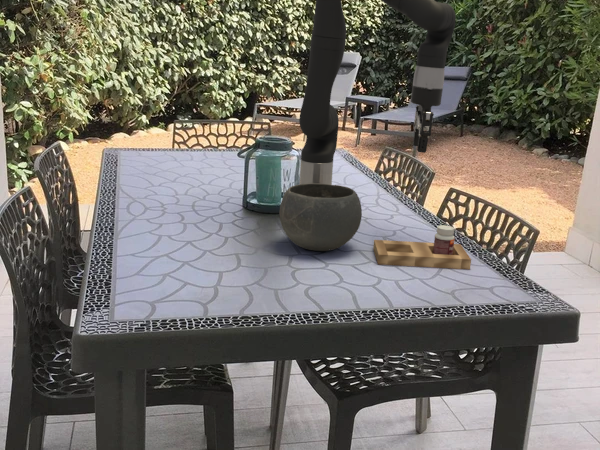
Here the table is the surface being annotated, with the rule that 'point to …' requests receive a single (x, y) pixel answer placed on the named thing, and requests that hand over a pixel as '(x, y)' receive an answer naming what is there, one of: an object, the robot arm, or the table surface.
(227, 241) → the table surface
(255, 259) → the table surface
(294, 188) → the bowl
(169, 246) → the table surface
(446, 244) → the pill bottle
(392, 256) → the holder block
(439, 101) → the robot arm
